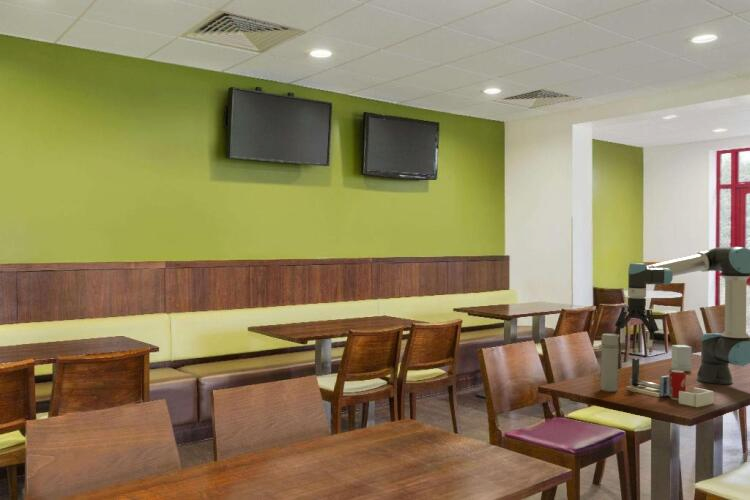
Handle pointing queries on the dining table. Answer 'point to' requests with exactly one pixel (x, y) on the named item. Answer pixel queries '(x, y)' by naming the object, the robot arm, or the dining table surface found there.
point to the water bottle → (609, 362)
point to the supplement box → (681, 357)
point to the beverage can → (676, 383)
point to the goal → (696, 397)
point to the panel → (644, 390)
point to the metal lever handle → (636, 382)
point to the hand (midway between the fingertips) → (635, 344)
